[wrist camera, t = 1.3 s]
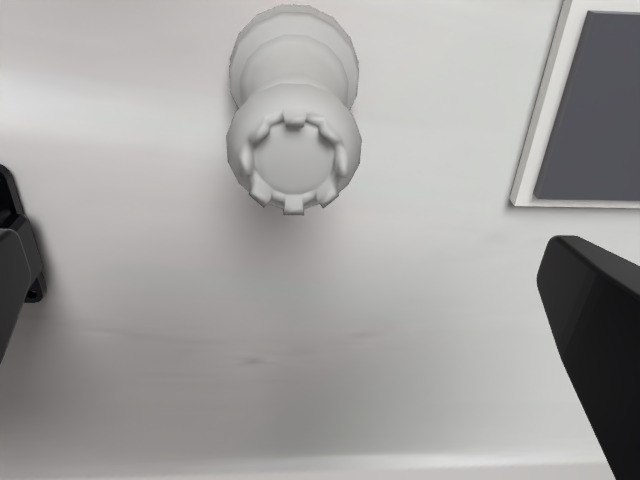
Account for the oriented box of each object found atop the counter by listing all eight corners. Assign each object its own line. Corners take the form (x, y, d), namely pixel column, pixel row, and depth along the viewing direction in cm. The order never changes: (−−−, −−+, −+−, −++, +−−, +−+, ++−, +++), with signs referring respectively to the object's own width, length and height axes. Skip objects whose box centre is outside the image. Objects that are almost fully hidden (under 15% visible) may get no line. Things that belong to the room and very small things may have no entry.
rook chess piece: (379, 89, 19) (425, 194, 12) (277, 150, 20) (268, 276, 13) (315, -28, 17) (328, 22, 10) (204, 48, 18) (151, 139, 11)
